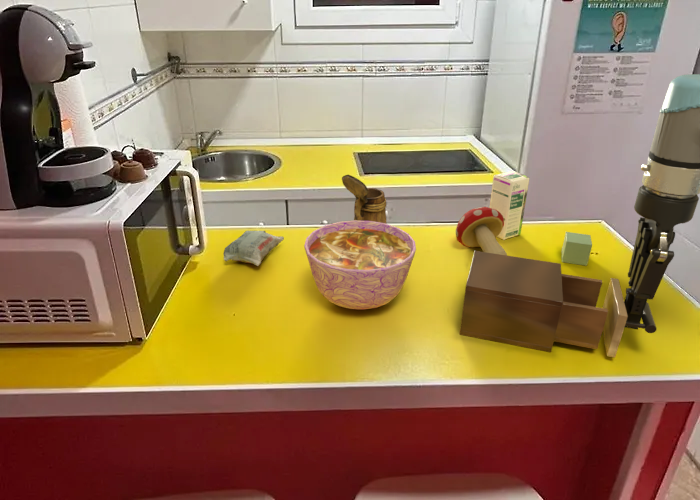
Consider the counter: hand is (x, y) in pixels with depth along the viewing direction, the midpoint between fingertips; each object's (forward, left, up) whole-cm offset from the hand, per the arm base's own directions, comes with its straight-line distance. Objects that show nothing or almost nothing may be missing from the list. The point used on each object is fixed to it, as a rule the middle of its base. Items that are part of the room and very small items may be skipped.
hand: (627, 325), depth 85 cm
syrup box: (+22, -37, -4) cm, 43 cm away
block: (+6, -29, -4) cm, 30 cm away
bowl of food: (+46, +1, -4) cm, 46 cm away
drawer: (+6, 0, -3) cm, 7 cm away
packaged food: (+72, -7, -4) cm, 72 cm away
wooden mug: (+52, -22, -4) cm, 56 cm away
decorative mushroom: (+26, -24, -4) cm, 35 cm away
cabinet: (+19, 0, -4) cm, 19 cm away
